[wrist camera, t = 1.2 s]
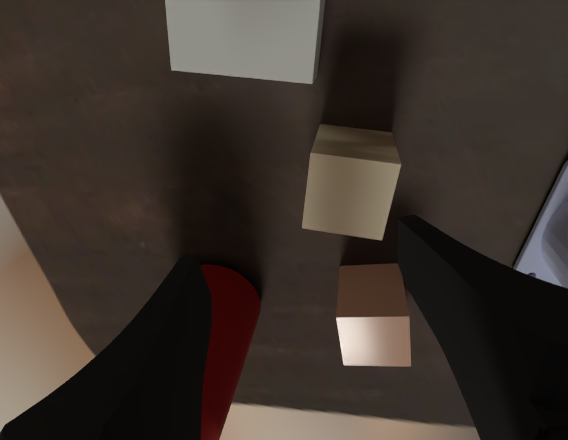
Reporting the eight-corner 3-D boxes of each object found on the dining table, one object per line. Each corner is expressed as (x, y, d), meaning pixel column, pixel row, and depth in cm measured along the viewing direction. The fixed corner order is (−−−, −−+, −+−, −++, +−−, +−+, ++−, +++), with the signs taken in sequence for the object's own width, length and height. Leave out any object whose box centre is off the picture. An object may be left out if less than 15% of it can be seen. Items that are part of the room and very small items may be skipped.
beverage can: (174, 252, 27) (64, 398, 17) (263, 263, 26) (203, 425, 16) (184, 318, 31) (97, 474, 20) (263, 330, 30) (213, 500, 19)
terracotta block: (400, 262, 24) (409, 316, 20) (402, 308, 26) (410, 366, 22) (339, 265, 25) (336, 317, 21) (345, 309, 27) (343, 365, 23)
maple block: (391, 132, 20) (401, 164, 16) (377, 196, 22) (382, 240, 18) (320, 123, 21) (310, 152, 16) (312, 187, 23) (302, 228, 18)
